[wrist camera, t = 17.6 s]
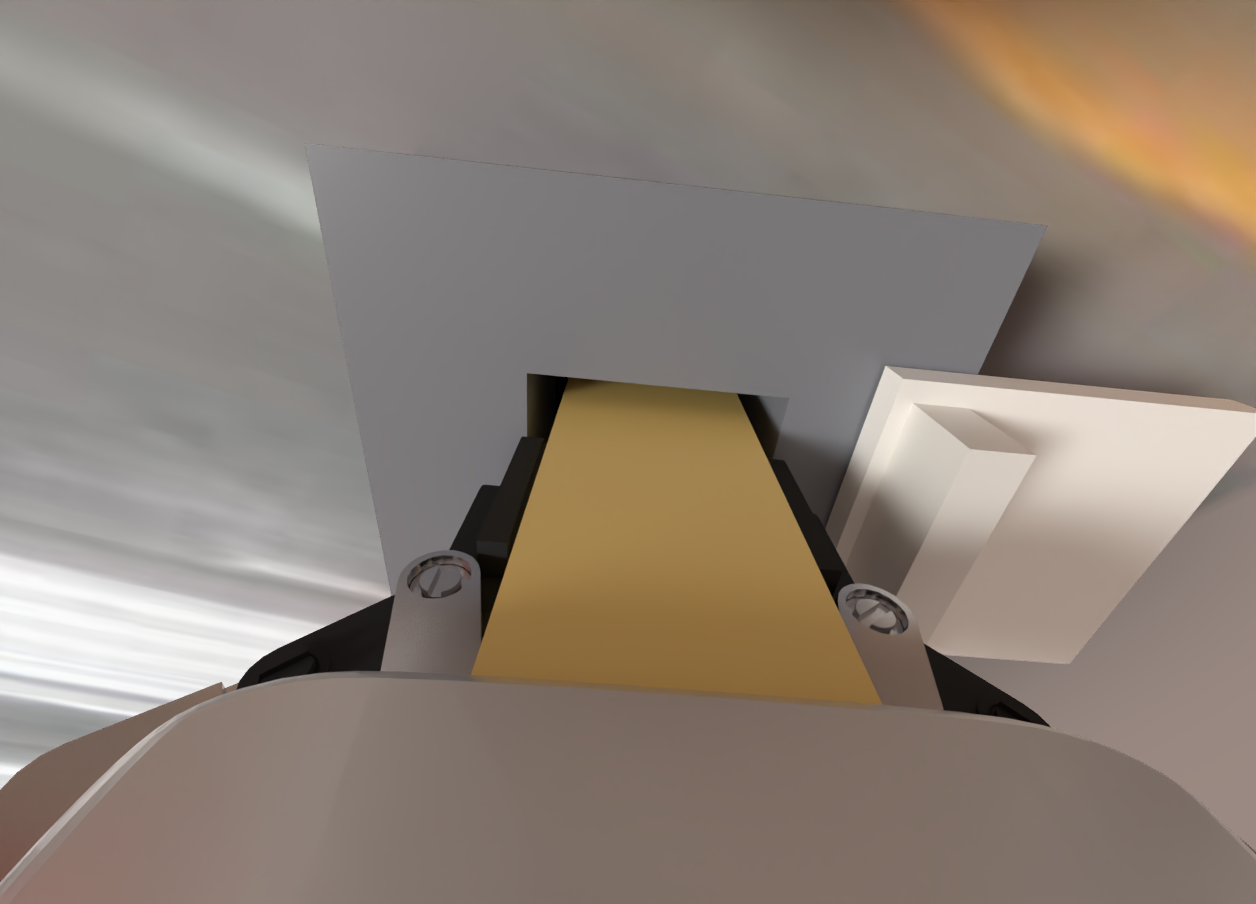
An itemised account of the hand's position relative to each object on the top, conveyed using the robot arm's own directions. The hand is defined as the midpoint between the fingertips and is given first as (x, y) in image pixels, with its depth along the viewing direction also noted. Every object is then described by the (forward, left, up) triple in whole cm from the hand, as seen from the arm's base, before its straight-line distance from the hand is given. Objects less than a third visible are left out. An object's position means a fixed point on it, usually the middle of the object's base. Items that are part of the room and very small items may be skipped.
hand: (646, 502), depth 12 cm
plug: (0, 0, -3) cm, 3 cm away
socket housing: (0, 0, -5) cm, 5 cm away
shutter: (-9, 0, 0) cm, 9 cm away
